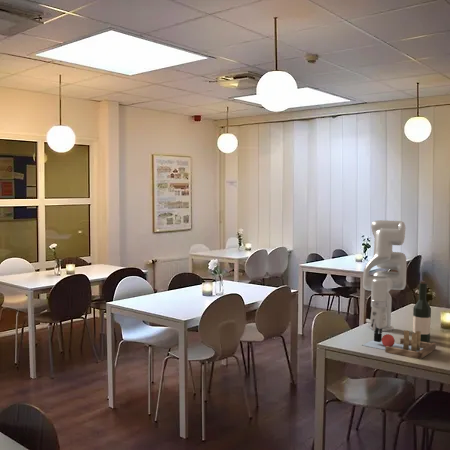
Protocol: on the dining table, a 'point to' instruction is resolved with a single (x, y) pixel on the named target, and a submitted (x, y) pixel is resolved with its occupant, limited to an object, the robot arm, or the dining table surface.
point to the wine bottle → (422, 314)
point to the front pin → (406, 340)
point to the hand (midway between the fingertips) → (377, 341)
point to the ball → (388, 340)
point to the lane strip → (381, 346)
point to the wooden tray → (421, 354)
